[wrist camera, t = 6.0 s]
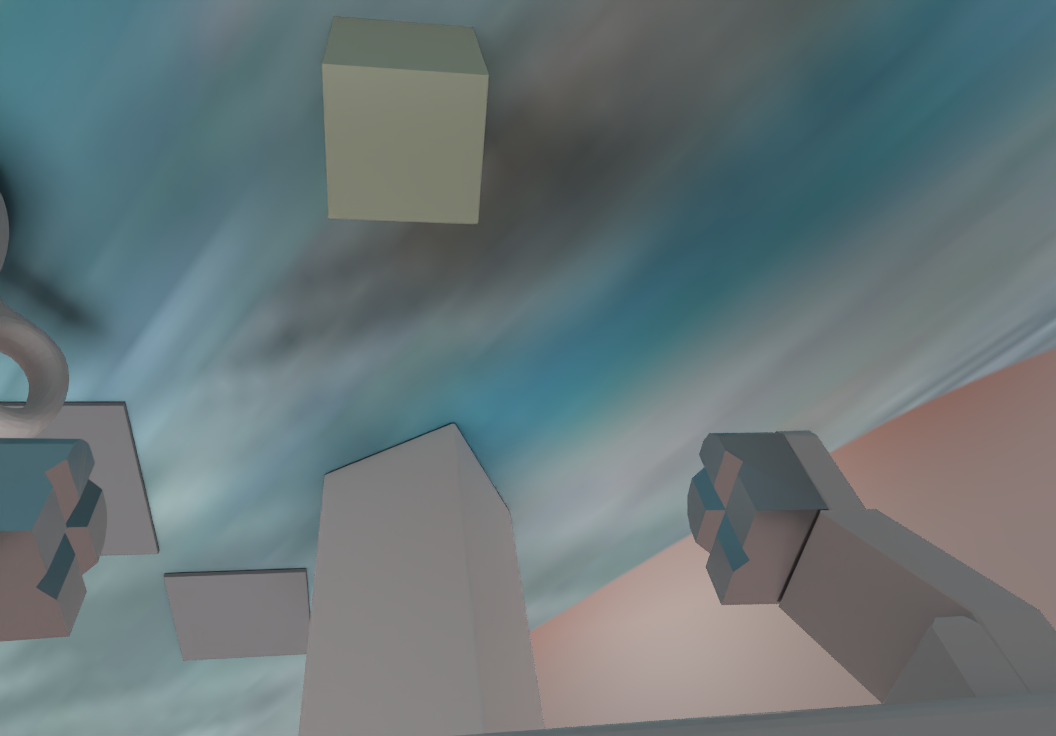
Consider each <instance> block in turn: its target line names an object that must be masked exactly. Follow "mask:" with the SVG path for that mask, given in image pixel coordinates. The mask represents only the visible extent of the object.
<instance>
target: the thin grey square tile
mask: <svg viewBox="0 0 1056 736" xmlns="http://www.w3.org/2000/svg"><path fill="white" fill-rule="evenodd" d="M25 404H26V402H0V405H3V406H5V407H10V408H23V407H24V406H25ZM34 438H52V439H82V440H84V441H86V442H88V443H89V446H90V449H91V452H92V455H93V458H94V461H95V465H94V467H93V469H92V472H91V474H90V476H89V480H91V481H92V482H93V483H95V484H96V485H97V486H99V487H100V488H101V489H102V490H103V494H104V498H105V502H106V509H107V528H106V535H105V543H104V546H103V549H102V552H101V555H100V556H107V555H139V554H158V553H159V547H158V543H157V539H156V534H155V530H154V526H153V521H152V517H151V513H150V508H149V504H148V500H147V496H146V491H145V487H144V483H143V478H142V474H141V470H140V465H139V461H138V457H137V452H136V448H135V444H134V440H133V435H132V431H131V427H130V422H129V418H128V414H127V409H126V405H125V402H64V403H63V406H62V408H61V410H60V412H59V413H58V415H57V416H56V418H55V419H54V420H53V421H52V422H51V423H50V424H49V425H48V426H47V427H46V428H45V429H44V430H43V431H42V432H41V433H40V434H39V435H37V436H36V437H34Z"/></svg>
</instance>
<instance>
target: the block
mask: <svg viewBox="0 0 1056 736" xmlns="http://www.w3.org/2000/svg"><path fill="white" fill-rule="evenodd" d="M322 80H323V104H324V127H325V151H326V175H327V199H328V219H351V220H378V221H405V222H432V223H459V224H478V215H479V202H480V189H481V175H482V162H483V148H484V135H485V121H486V108H487V94H488V81H489V74H488V71H487V68H486V65H485V62H484V59H483V56H482V53H481V50H480V47H479V45H478V42H477V39H476V36H475V33H474V30H473V27H461V26H449V25H436V24H424V23H411V22H398V21H386V20H373V19H360V18H348V17H335V16H334V19H333V23H332V26H331V30H330V34H329V38H328V42H327V46H326V50H325V53H324V57H323V61H322Z"/></svg>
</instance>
